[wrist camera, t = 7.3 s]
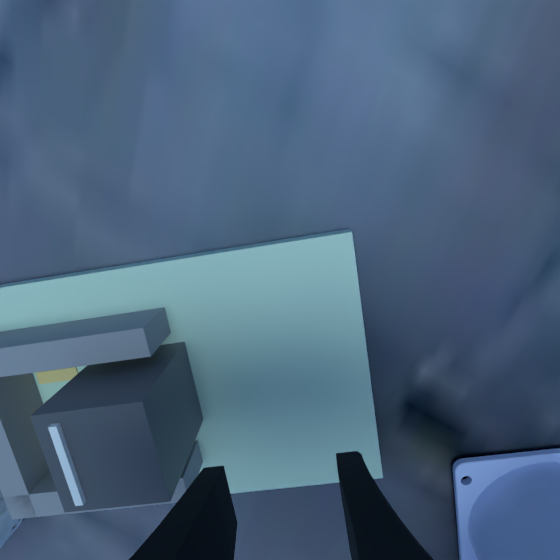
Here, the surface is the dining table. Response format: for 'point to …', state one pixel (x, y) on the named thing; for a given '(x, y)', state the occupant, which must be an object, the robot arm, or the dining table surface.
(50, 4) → the dining table surface
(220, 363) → the board
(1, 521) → the skincare box
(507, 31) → the dining table surface
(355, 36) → the dining table surface
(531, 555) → the robot arm
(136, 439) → the plug
